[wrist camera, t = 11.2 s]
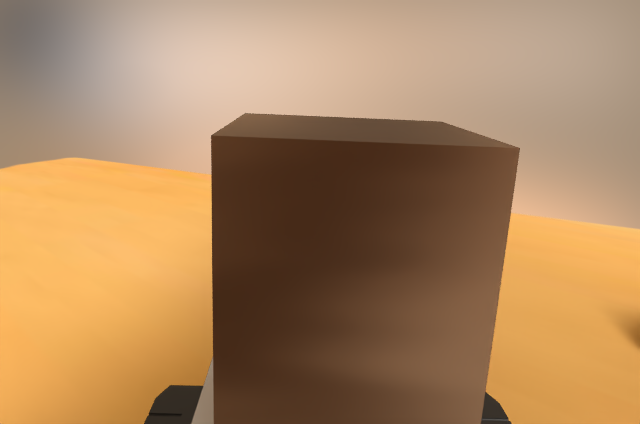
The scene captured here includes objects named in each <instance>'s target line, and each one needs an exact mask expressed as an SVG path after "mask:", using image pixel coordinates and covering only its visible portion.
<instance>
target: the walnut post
mask: <svg viewBox="0 0 640 424" xmlns="http://www.w3.org/2000/svg"><path fill="white" fill-rule="evenodd" d="M519 150H520V148H518V147H515V146H512V145H509V144H506V143H503V142H500V141H497V140H494V139H491V138H488V137H485V136H482V135H479V134H476V133H473V132H470V131H467V130H464V129H461V128H458V127H455V126H453V125H450V124H447V123H444V122H436V121H413V120H412V121H411V120H390V119H366V118H343V117H320V116H296V115H273V114H248V113H245V114H244V115H242V116H240V117H239V118H237V119H236V120H234V121H233V122H231V123H230V124H228V125H227V126H225V127H224V128H222V129H220V130H219V131H217V132H216V133H214V134H213V135H211V155H212V156H211V158H212V159H211V160H212V284H213V404H214V424H481V419H482V412H483V405H484V397H485V390H486V383H487V376H488V369H489V362H490V355H491V348H492V341H493V334H494V327H495V320H496V313H497V306H498V299H499V292H500V285H501V278H502V271H503V264H504V257H505V250H506V242H507V235H508V228H509V221H510V214H511V207H512V199H513V193H514V186H515V179H516V172H517V165H518V158H519Z"/></svg>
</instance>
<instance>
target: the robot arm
mask: <svg viewBox="0 0 640 424" xmlns="http://www.w3.org/2000/svg"><path fill="white" fill-rule="evenodd" d="M144 424H214V404H213V358H212V361H211V364H210V367H209V370H208V373H207V377H206V380H205V383H204V386H180V385H170V386H169V387H168V388H167V389H166V390H164V391H163V392H162V393H161V394H160V395H159V396H158V397H156V399H155V401H154V403H153V405H152V407H151V410H150V412H149V416H147V418H146V421H145V423H144ZM481 424H511V422H510V421H508V417H507V415H506V414H505V412H504V410H503V408H502V407H501V405H500V403H498V402H497V401H496V400H495V399H493V398H492V397H491V396H490V395H489V394H487V393H486V392H485V397H484V405H483V412H482V419H481Z"/></svg>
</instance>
